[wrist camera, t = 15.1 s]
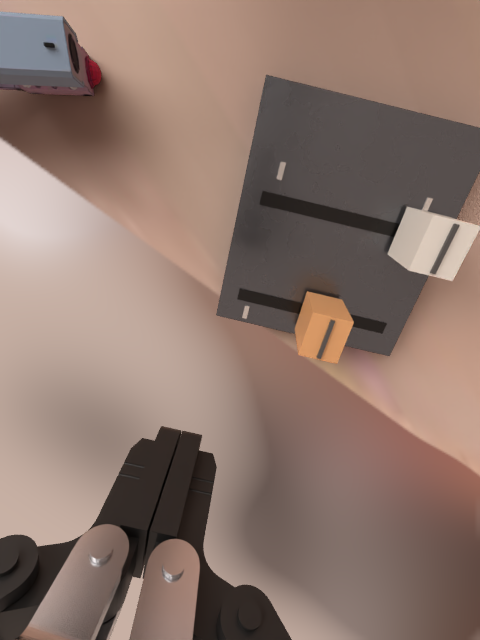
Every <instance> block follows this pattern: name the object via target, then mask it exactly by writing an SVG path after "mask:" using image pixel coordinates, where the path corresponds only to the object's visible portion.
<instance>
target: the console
mask: <svg viewBox="0 0 480 640" xmlns="http://www.w3.org/2000/svg"><path fill="white" fill-rule="evenodd" d="M479 172H480V128H478V127H474V126H470V125H466V124H462V123H458V122H454V121H450V120H446V119H442V118H438V117H434V116H430V115H426V114H422V113H418V112H414V111H410V110H406V109H402V108H398V107H394V106H390V105H386V104H382V103H378V102H374V101H370V100H366V99H362V98H358V97H354V96H349V95H345V94H341V93H337V92H333V91H329V90H325V89H321V88H317V87H313V86H309V85H305V84H301V83H297V82H293V81H289V80H285V79H281V78H277V77H273V76H269V75H266V78H265V83H264V88H263V93H262V97H261V102H260V107H259V112H258V117H257V121H256V126H255V131H254V136H253V141H252V146H251V150H250V155H249V160H248V165H247V170H246V174H245V179H244V184H243V189H242V194H241V198H240V203H239V208H238V213H237V218H236V223H235V227H234V232H233V237H232V242H231V247H230V251H229V256H228V261H227V266H226V271H225V275H224V280H223V285H222V290H221V295H220V300H219V305H218V309H217V314H216V315H217V316H222V317H226V318H230V319H234V320H238V321H243V322H247V323H251V324H255V325H259V326H264V327H268V328H272V329H276V330H281V331H285V332H289V333H293V334H295V326H296V323H297V320H298V317H299V314H300V311H301V308H302V305H303V302H304V299H305V296H306V293H307V291H308V292H312V293H317V294H321V295H325V296H329V297H333V298H338V299H342V300H343V302H344V304H345V306H346V308H347V310H348V312H349V314H350V315H351V317H352V319H353V321H354V324H353V326H352V329H351V331H350V333H349V336H348V338H347V341H346V343H345V345H344V346H348V347H353V348H357V349H361V350H365V351H370V352H374V353H378V354H382V355H387V356H390V354H391V352H392V350H393V348H394V346H395V344H396V342H397V340H398V337H399V335H400V333H401V331H402V329H403V327H404V325H405V323H406V321H407V319H408V317H409V315H410V313H411V311H412V309H413V307H414V305H415V303H416V301H417V299H418V297H419V294H420V292H421V290H422V288H423V286H424V284H425V282H426V280H427V278H428V276H429V275H425V274H421V273H417V272H413V271H408V270H407V269H406V268H405V267H403V266H402V265H401V264H399V263H398V262H397V261H395V260H394V259H393V258H392V257H390V256H389V255H388V251H389V249H390V246H391V244H392V242H393V239H394V237H395V235H396V232H397V230H398V227H399V225H400V223H401V220H402V218H403V215H404V213H405V211H406V208H407V207H411V208H415V209H419V210H423V211H428V212H432V213H436V214H440V215H444V216H448V217H451V218H455V219H457V217H458V215H459V213H460V211H461V208H462V206H463V204H464V202H465V200H466V198H467V196H468V194H469V192H470V190H471V188H472V186H473V184H474V182H475V180H476V178H477V176H478V174H479Z"/></svg>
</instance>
